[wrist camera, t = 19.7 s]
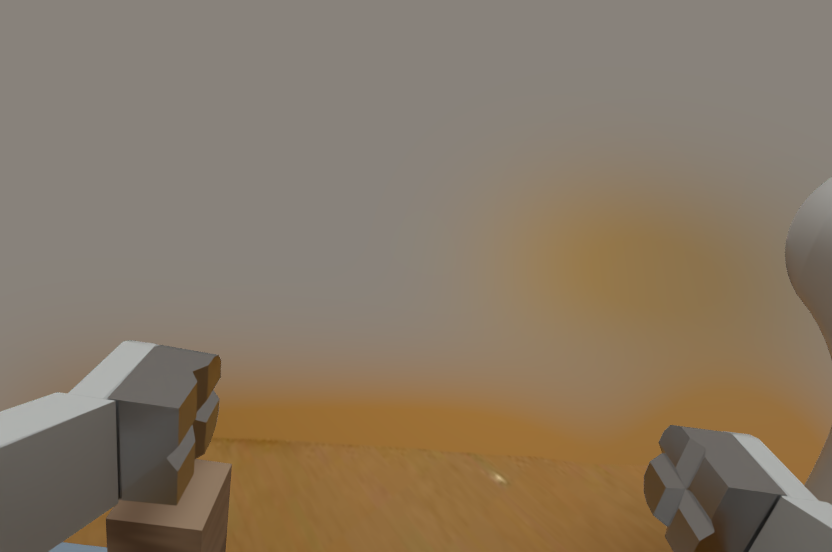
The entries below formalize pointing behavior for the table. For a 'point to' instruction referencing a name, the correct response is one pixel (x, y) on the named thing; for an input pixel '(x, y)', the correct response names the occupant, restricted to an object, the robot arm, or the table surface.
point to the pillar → (176, 517)
